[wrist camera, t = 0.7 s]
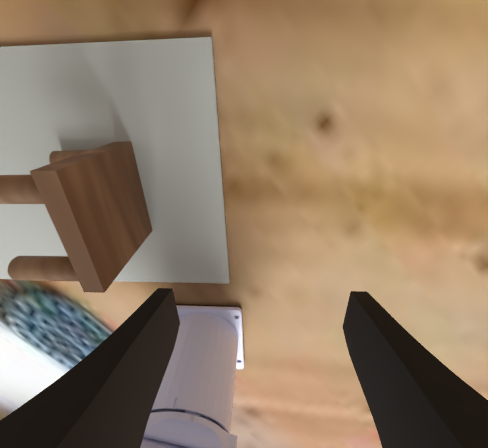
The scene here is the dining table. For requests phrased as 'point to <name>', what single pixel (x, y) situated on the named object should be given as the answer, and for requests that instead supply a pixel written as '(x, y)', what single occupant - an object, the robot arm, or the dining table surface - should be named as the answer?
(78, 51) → the mat
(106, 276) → the stool
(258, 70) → the dining table surface
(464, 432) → the robot arm
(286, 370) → the dining table surface
